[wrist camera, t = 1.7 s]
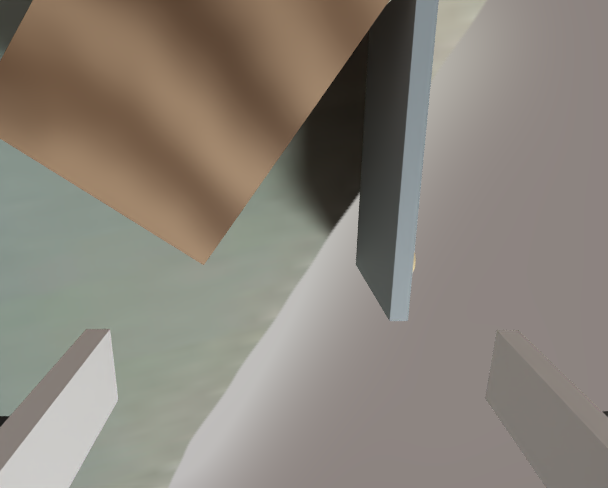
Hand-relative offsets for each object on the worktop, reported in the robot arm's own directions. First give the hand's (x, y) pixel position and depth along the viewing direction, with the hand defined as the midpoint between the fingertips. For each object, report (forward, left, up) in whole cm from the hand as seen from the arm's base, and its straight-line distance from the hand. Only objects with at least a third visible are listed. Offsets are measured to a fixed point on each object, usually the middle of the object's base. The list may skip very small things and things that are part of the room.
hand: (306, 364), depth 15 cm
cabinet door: (+9, -4, -23) cm, 25 cm away
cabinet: (+7, +11, -24) cm, 27 cm away
